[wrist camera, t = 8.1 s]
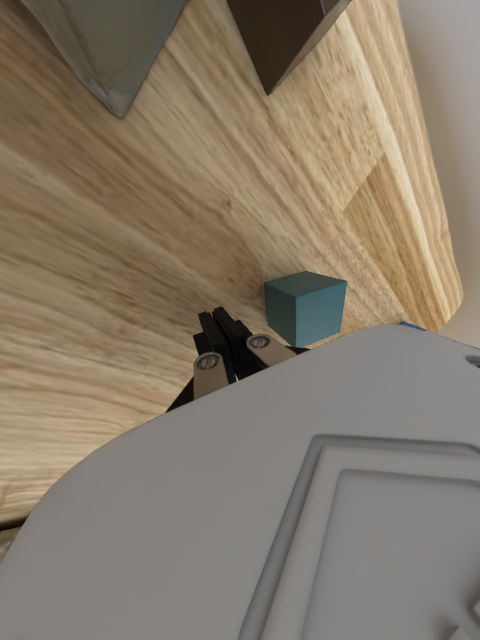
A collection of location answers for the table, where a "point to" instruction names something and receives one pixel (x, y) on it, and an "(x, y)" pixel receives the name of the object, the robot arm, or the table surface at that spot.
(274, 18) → the block
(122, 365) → the table surface
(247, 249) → the table surface
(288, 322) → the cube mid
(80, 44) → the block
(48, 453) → the table surface
